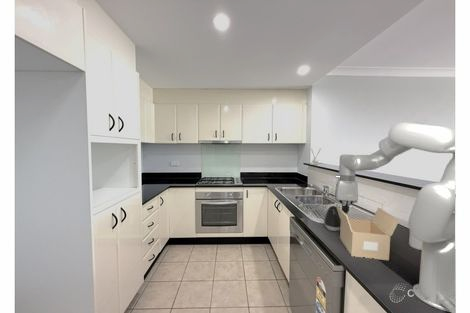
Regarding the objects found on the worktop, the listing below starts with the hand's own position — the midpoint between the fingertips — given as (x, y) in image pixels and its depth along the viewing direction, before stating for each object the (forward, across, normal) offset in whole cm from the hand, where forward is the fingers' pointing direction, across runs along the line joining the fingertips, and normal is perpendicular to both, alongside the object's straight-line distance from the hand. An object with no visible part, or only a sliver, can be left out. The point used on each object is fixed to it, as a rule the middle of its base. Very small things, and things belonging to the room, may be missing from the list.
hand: (345, 212), depth 110 cm
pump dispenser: (+18, 0, +22) cm, 29 cm away
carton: (+18, +9, 0) cm, 20 cm away
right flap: (+2, +18, 0) cm, 18 cm away
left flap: (+2, -1, 0) cm, 2 cm away
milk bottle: (+18, +39, +8) cm, 44 cm away
